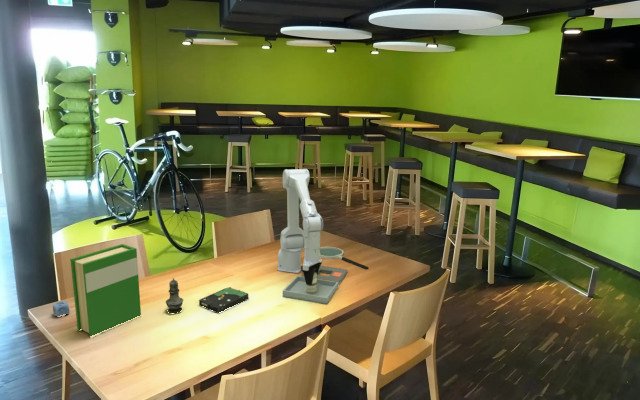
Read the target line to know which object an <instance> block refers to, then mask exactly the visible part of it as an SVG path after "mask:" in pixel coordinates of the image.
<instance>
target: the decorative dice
mask: <svg viewBox="0 0 640 400" xmlns="http://www.w3.org/2000/svg"><path fill="white" fill-rule="evenodd" d="M52 311H53V315H54V314H55V315H56V316H60V315H63V314H68V313H69V314H70V306H69V303H68V302H67V301H65V300H64V301H61V300H60V301H57V302H56V303H54V304H53V305H52ZM69 314H68V315H69ZM55 315H54V316H55Z"/></svg>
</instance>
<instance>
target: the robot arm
mask: <svg viewBox="0 0 640 400" xmlns="http://www.w3.org/2000/svg"><path fill="white" fill-rule="evenodd" d="M310 179H311V176H310V171H309V170H308V169H307V168H301V169H300V168H299V169H297V168H295V169H293V168H291V169H287V168H286V169H284V170H283V172H282V187H283V189H285V190H286V193H287V194H286V197H287V199H286V200H287V201H286V203H287V204H286V205H287V207H286V208H287V209H286V210H287V212H286V214H287V217H286V219H287V226H286V227H284V229H282V230H281V232H280V239H279V241H280V243H279V244H280V249H279V250H278V255H277V271H278V272H279V271H280V272H286V273H287V272H288V273H291V274H292V273H293V274H299V273H300V272H302V274H304V277H305V282H306V284H307V285H312V282H313V276H314V273H315V272H316V273H317V275H318V271H319V268H320V266H322V264H323V258H320V248H321V232H322V231H323V229H324V219H323V217H322V216H321V215H320V213H318V210H317V207H316V203H315V201H314V200H312V199H311V196H310V192H309V188H308V186H309V182H310V181H311V180H310ZM299 210H300V211H299ZM299 212H301V216H302V228H303V229H302V228H301V227H300V213H299ZM303 249H304V254H303V255H304V258H303V264H302V251H303Z"/></svg>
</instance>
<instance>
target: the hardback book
mask: <svg viewBox="0 0 640 400" xmlns="http://www.w3.org/2000/svg"><path fill="white" fill-rule="evenodd" d="M138 265H139V264H138V251H137V248H136V247H134V246H130V245H127V244H124V243H120V244H117V245H114V246H110V247H107V248H104V249H100V250H97V251H96V250H95V251H92V252H89V253H86V254H82V255H79V256H76V257H72V258H70V267H71V278H72V279H71V280H72V289H73V290H72V291H73V299H74V307H75V317H76V319H75V320H76V327H77V330H78V329H79V330H80V329H82V330H83V331H84V332H86V333H88V336H89V335H90V336H92V335H95V334H97V333H100V332H102V331H104V330H107V329H109V328H112V327H114V326H116V325H118V324H121V323H124V322H126V321H128V320H131V319H133V318H135V317H137V316H140V315H141V316H142V310H141V308H142V307H141V296H140V293H141V292H140V282H139V279H140V278H139V266H138ZM141 316H140V317H141ZM131 321H132V320H131ZM90 336H89V337H90Z"/></svg>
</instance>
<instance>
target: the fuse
mask: <svg viewBox="0 0 640 400" xmlns="http://www.w3.org/2000/svg"><path fill="white" fill-rule="evenodd" d="M306 292H307V293H315V292H317V273H316V272H315V273H314V276H313V282H312V285H307V284H306Z"/></svg>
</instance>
